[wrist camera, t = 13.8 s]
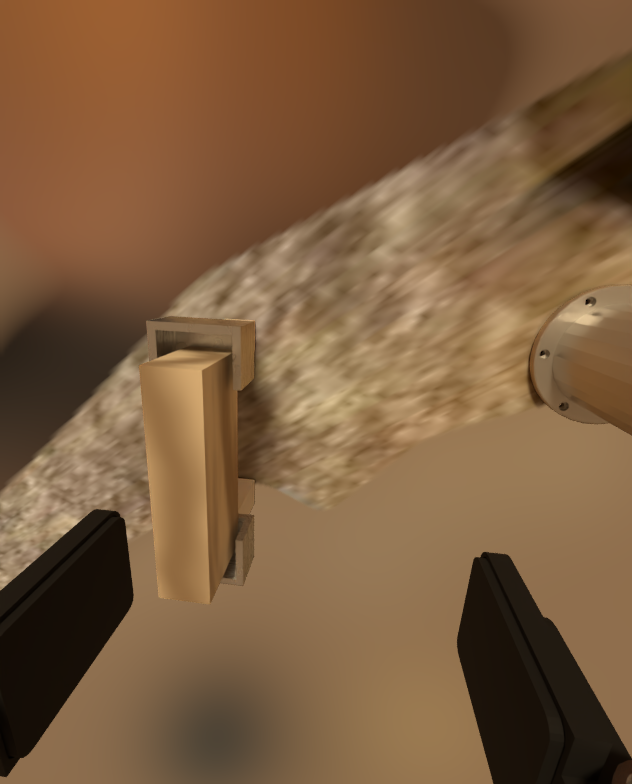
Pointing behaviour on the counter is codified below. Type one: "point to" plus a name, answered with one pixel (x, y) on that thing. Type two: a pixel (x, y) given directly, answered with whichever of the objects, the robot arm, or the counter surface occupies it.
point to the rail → (191, 468)
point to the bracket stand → (241, 340)
